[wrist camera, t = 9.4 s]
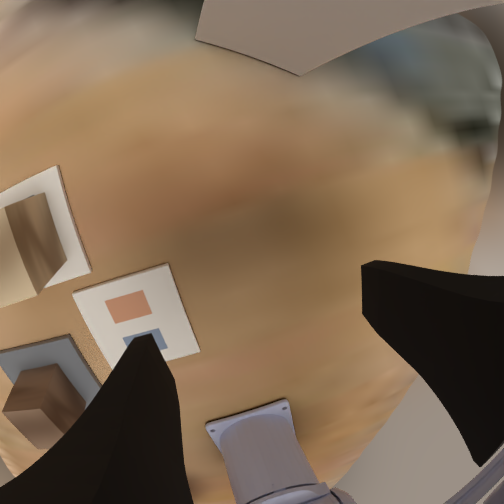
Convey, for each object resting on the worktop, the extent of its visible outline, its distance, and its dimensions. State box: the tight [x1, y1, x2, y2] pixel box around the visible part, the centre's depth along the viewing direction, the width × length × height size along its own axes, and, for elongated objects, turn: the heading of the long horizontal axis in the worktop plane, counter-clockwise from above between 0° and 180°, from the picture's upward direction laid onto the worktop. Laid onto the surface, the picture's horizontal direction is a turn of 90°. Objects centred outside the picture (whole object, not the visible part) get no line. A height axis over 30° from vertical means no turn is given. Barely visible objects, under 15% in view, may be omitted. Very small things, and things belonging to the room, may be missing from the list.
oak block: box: [0, 192, 67, 308], centre depth 12 cm, size 4×4×5 cm
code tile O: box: [0, 165, 92, 288], centre depth 14 cm, size 7×7×1 cm
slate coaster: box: [0, 334, 102, 409], centre depth 18 cm, size 9×9×1 cm
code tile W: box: [72, 263, 201, 370], centre depth 18 cm, size 7×7×1 cm
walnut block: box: [2, 363, 86, 449], centre depth 15 cm, size 4×4×5 cm
